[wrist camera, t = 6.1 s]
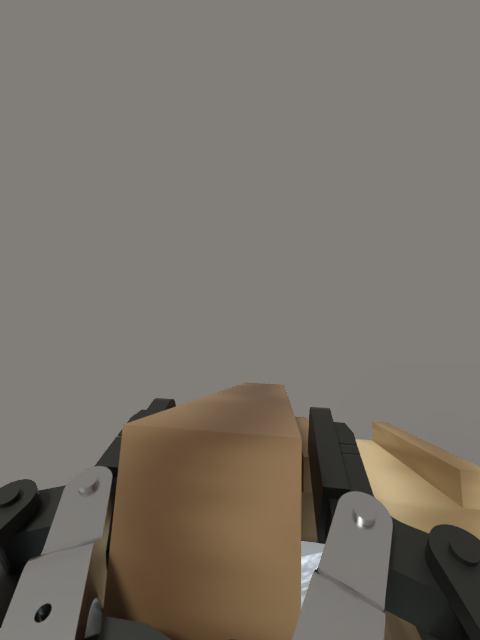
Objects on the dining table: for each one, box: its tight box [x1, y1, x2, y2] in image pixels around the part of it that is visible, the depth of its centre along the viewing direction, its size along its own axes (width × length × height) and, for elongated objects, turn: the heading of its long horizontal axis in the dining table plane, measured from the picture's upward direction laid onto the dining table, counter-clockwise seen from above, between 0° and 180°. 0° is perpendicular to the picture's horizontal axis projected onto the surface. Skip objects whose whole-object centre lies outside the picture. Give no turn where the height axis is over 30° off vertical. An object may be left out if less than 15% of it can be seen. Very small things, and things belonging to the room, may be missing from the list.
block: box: [101, 383, 302, 640], centre depth 18 cm, size 4×24×4 cm, turn 172°
